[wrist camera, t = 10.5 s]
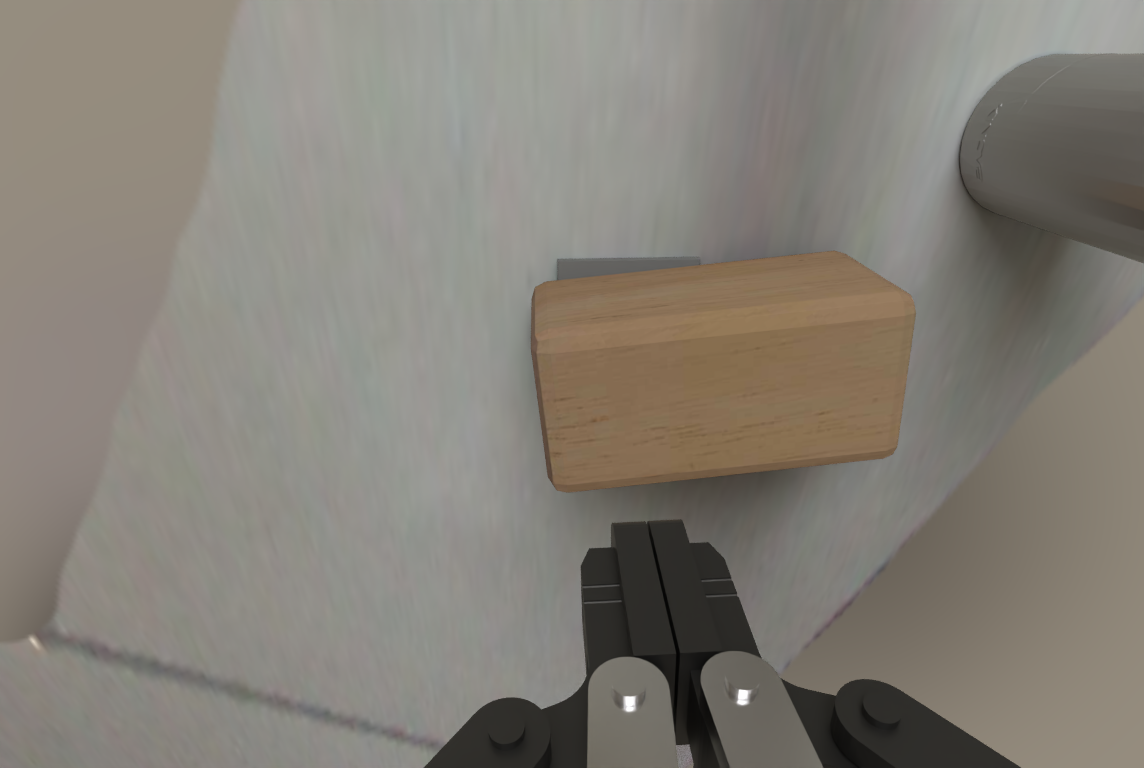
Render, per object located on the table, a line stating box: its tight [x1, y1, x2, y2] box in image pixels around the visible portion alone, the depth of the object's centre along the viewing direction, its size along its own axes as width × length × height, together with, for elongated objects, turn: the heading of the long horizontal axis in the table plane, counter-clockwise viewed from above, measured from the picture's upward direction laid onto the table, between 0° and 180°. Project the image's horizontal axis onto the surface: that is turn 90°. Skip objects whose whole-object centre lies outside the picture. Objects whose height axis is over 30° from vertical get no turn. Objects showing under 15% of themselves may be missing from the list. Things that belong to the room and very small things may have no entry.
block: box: [531, 251, 916, 492], centre depth 40 cm, size 10×10×20 cm
